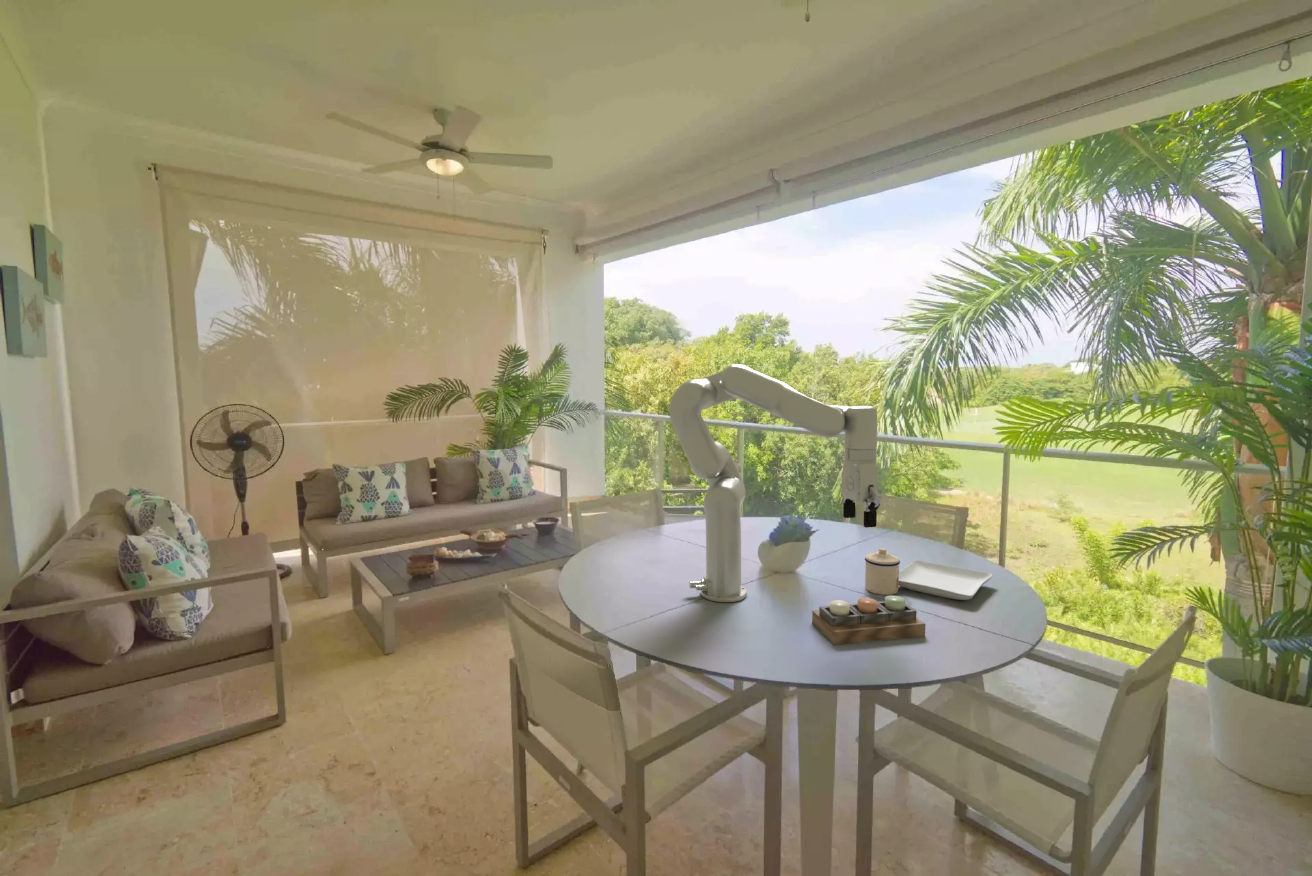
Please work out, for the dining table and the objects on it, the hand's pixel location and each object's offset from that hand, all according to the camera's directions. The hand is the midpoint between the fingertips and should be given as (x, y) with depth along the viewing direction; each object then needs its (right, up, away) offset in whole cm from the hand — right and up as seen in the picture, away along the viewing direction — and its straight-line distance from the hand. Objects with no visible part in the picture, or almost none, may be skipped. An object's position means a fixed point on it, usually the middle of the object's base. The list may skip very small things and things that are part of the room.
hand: (859, 522), depth 149 cm
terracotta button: (-2, -19, -11) cm, 22 cm away
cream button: (-9, -20, -12) cm, 25 cm away
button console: (-2, -24, -10) cm, 26 cm away
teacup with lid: (+11, -21, +16) cm, 28 cm away
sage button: (+5, -19, -10) cm, 22 cm away
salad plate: (+28, -21, +16) cm, 38 cm away
